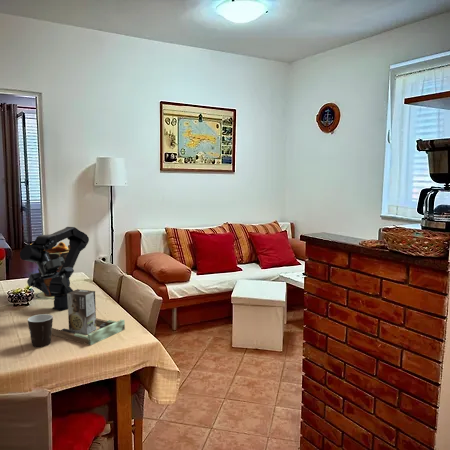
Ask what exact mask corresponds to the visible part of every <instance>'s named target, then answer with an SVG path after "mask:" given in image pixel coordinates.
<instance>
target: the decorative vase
mask: <svg viewBox="0 0 450 450" xmlns="http://www.w3.org/2000/svg"><path fill="white" fill-rule="evenodd" d="M31 244H32V243H30V245H31ZM69 249H70V245H69V244H68V245H66V243H64V241H59V242H58V243H57V245H56V246H55V247H53V248H52V249H48V250H45V251H47V252H49V253H50V254H49V257H50V259H51V260H54V259H57V258H59V257H63V259H64V261H65V259H66V256H67V254H68V252H69ZM34 263H35V264H36V265H37V263H36V262H34ZM58 268H59V270H57V272H60V270H61V268H62V266H60V267H58ZM38 273H41V271H38ZM41 275H42V273H41ZM51 279H52V278H49V279H44V283H45V285H46V287H47V289H48V291H49V285H50V281H51ZM39 291H40V292H37V293H35V294H34V295H33V296H34V298H35V299H37V300H53V299H54V296H51V294H50V291H49V295H47V294H45V293H44V292H42V291H41V290H39Z"/></svg>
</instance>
